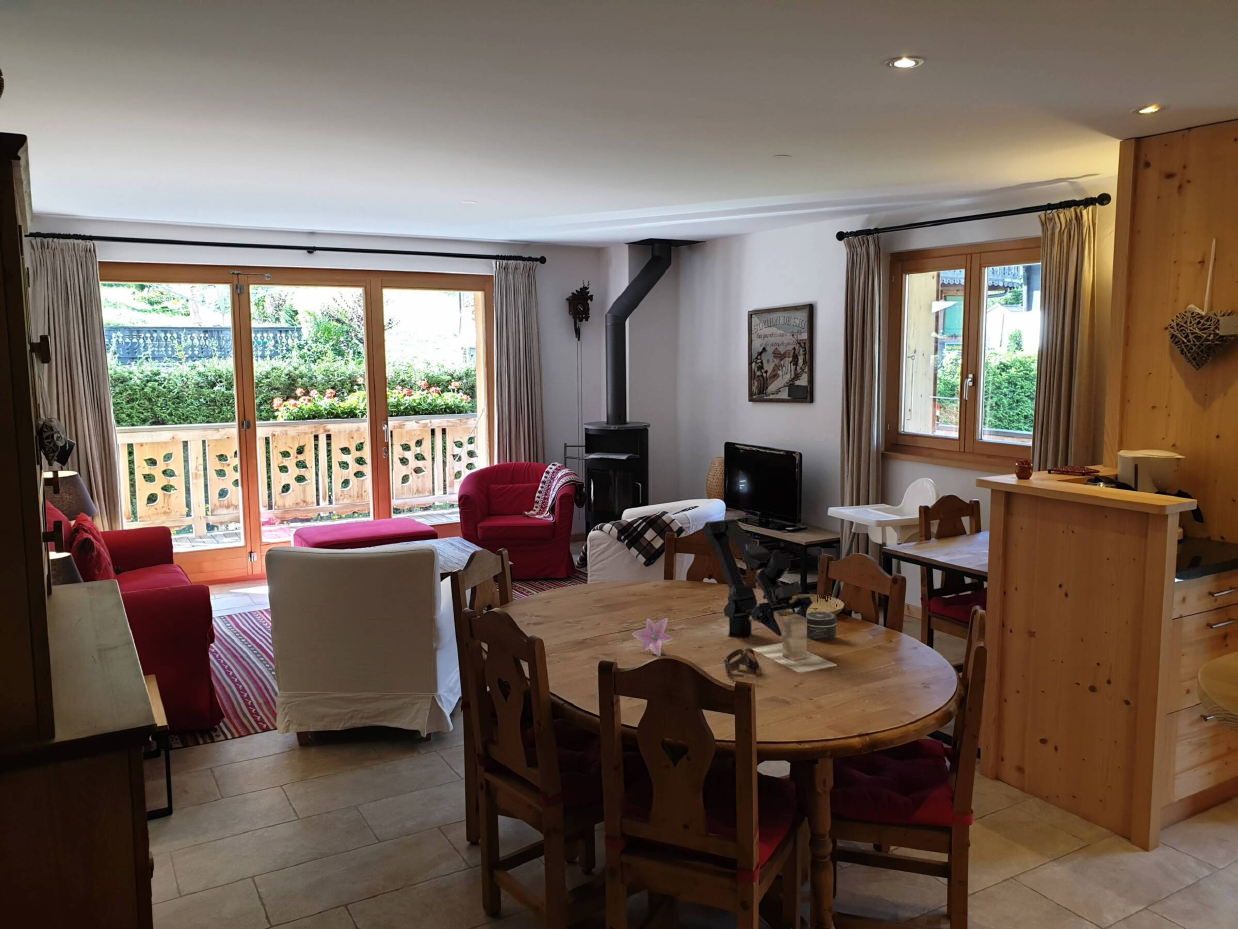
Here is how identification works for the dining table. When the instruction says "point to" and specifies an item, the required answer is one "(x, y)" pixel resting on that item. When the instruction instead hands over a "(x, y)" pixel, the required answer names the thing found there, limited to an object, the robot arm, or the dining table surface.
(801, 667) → the birch board
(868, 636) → the dining table surface
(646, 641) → the lily
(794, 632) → the beige tall block
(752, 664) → the brown looped strap
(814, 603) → the plant saucer
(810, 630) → the jar
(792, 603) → the robot arm
